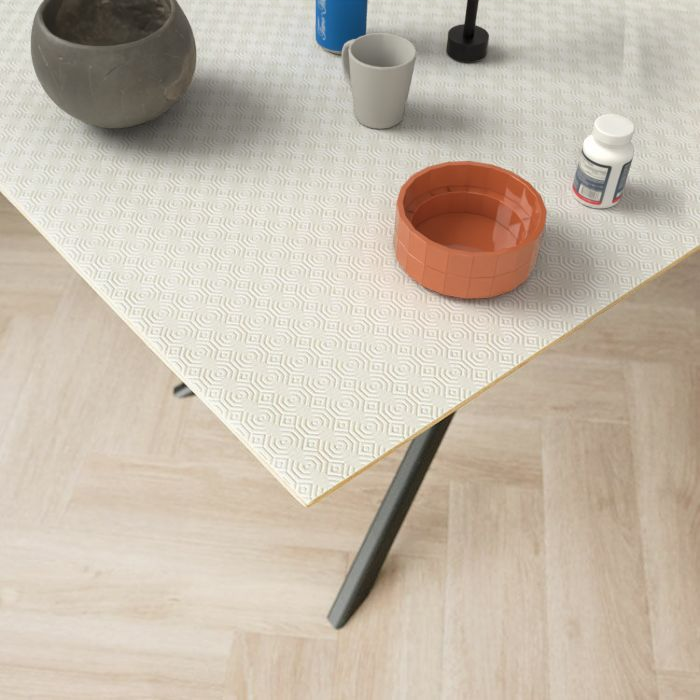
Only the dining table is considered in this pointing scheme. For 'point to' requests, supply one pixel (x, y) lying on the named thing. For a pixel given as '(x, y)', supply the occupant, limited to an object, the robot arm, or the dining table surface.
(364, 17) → the beverage can
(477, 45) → the black plunger
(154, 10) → the bowl
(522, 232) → the mixing bowl
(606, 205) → the pill bottle
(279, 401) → the dining table surface
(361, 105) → the cup
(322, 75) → the dining table surface
